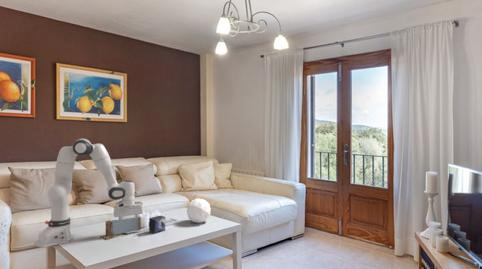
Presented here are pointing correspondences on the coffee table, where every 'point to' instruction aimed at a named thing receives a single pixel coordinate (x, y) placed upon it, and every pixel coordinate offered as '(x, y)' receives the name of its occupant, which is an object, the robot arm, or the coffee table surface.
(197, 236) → the coffee table surface
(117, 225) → the gate
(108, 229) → the gate post
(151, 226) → the small box
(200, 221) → the geometric orb
